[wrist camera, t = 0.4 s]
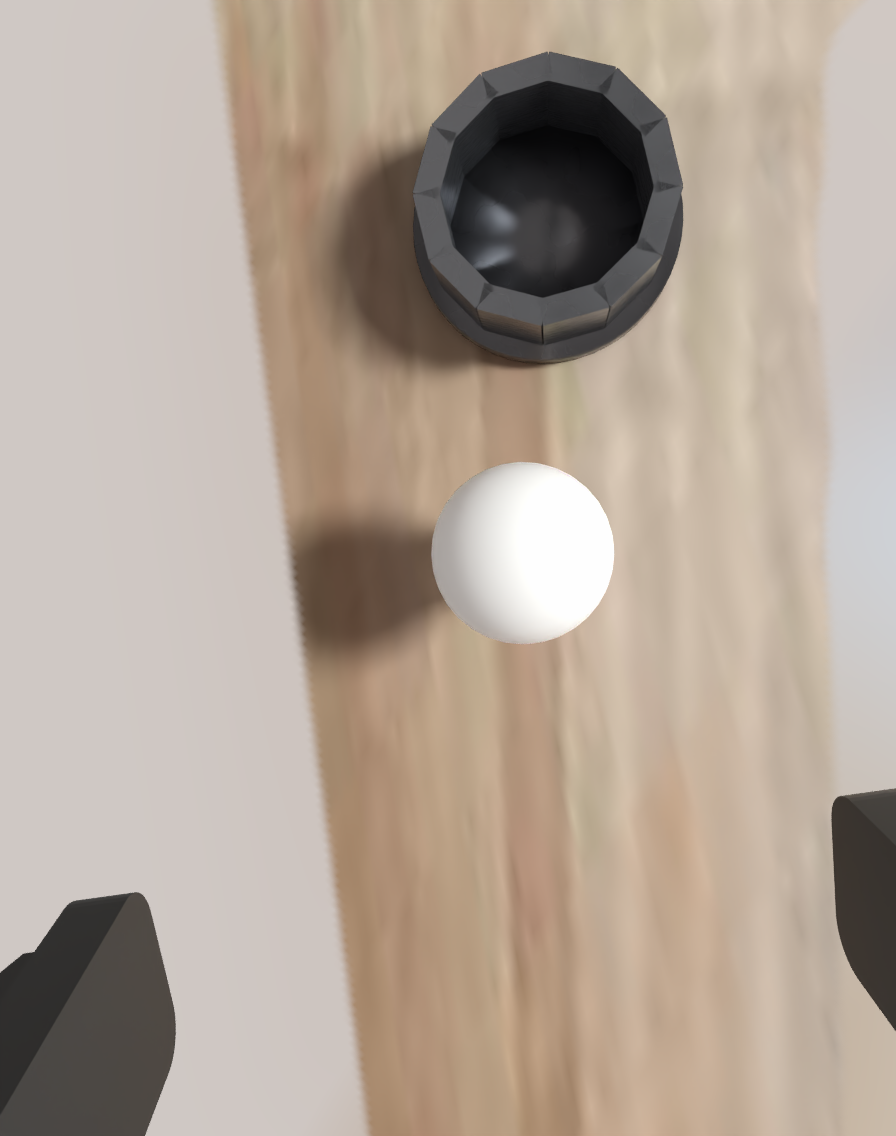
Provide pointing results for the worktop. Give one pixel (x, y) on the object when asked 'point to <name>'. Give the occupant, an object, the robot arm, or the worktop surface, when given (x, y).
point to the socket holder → (548, 208)
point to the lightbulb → (522, 553)
